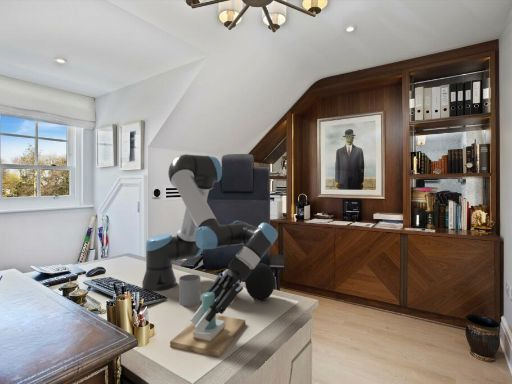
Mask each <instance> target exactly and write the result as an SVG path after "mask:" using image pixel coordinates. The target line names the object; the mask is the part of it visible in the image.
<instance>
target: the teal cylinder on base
mask: <svg viewBox="0 0 512 384" xmlns="http://www.w3.org/2000/svg"><path fill="white" fill-rule="evenodd" d="M215 301H216V299H215V293H213V292H207V291H205V292H204V293H202V294H201V305H202V313H203V315H204V314H205V313H206V311H207V310H208V309H209V307H210V306H213V305H214V303H215ZM216 315H217V314H216ZM216 315H215V316H214V318H213V319H212V320H211V321H210V322H209V324H208V325H207V326H206V328H205V329H204V330H203V332H201V331H200V330H198V329H196V330H195V331H193V338H194V339H198V340H202V341H207V342H211V341H212V340H213V339H214V338H215V337H216V336H217V335H218V334H219V333H220V332H221V331H222V330H223V329H224V328H225V321H223V320H217V319H216Z"/></svg>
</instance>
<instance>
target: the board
mask: <svg viewBox="0 0 512 384" xmlns="http://www.w3.org/2000/svg"><path fill="white" fill-rule="evenodd" d="M216 319H217V320H223V321H225V328H224V329H223V330H222V331H221V332H220V333H219V334H218V335H217V336H216V337H215V338H214V339H213V340H212V341H211V342H207V341H202V340H198V339H194V338H193V331H195V330H196V329H197V328H196V327H195V326H196V325H195V324H194V323H193V322H190V324H189V325H188V326H186V328H184V329H183V330H182V331H180V333H178V334H177V335H176V336H175V337H173V338H172V339H171V340H170V341H169V347H171V348H175V349H180V350H185V351H190V352H194V353H198V354H202V355H206V356H207V355H208V356H212V357H216V358H220V357H221V356H222V354H223V353H224V352H225V351H226V350H227V348H228V347H229V346H230V345H231V344H232V342H233V341H234V339H235V338H236V337H237V335H238V334H239V333H240V332H241V331H242V329H243V328H244V327H245V325H246V319H243V318H242V319H241V318H236V317H230V316H225V315H217V314H216Z"/></svg>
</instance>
